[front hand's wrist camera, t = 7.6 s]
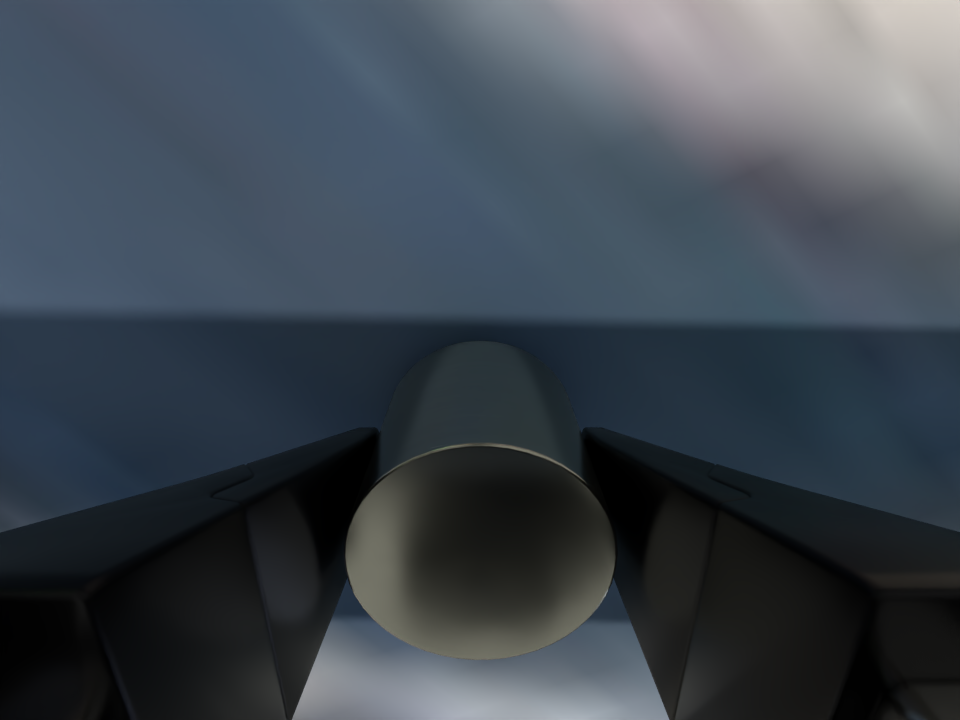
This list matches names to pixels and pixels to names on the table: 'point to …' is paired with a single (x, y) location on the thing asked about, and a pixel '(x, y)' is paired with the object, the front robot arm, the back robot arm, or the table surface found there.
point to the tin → (480, 509)
